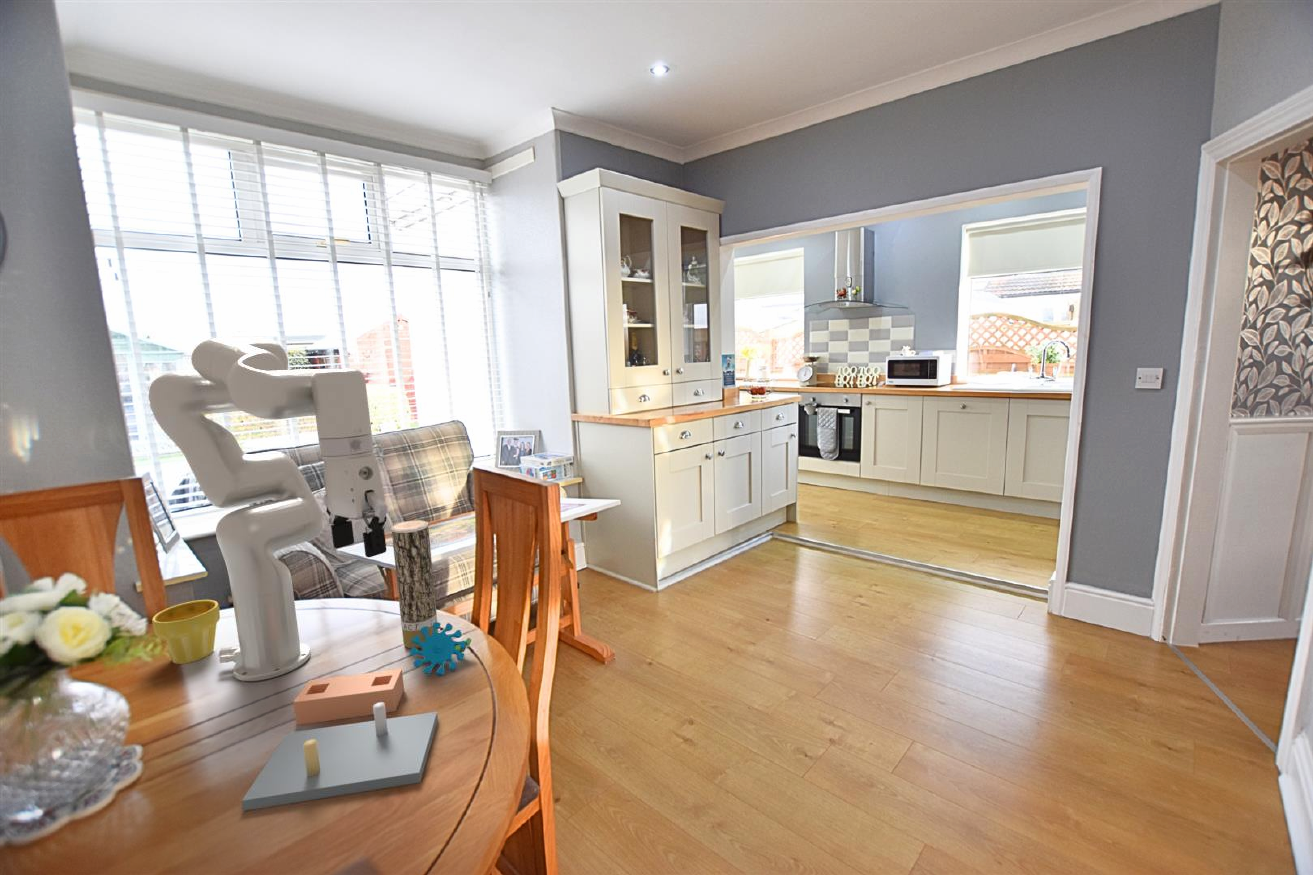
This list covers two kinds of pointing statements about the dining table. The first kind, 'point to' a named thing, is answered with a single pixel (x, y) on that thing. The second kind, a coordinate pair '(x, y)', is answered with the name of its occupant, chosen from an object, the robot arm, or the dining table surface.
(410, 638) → the bark log
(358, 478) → the robot arm
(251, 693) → the dining table surface
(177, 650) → the plant pot
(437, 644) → the blue virus model
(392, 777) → the slate board
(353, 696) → the holed bar
